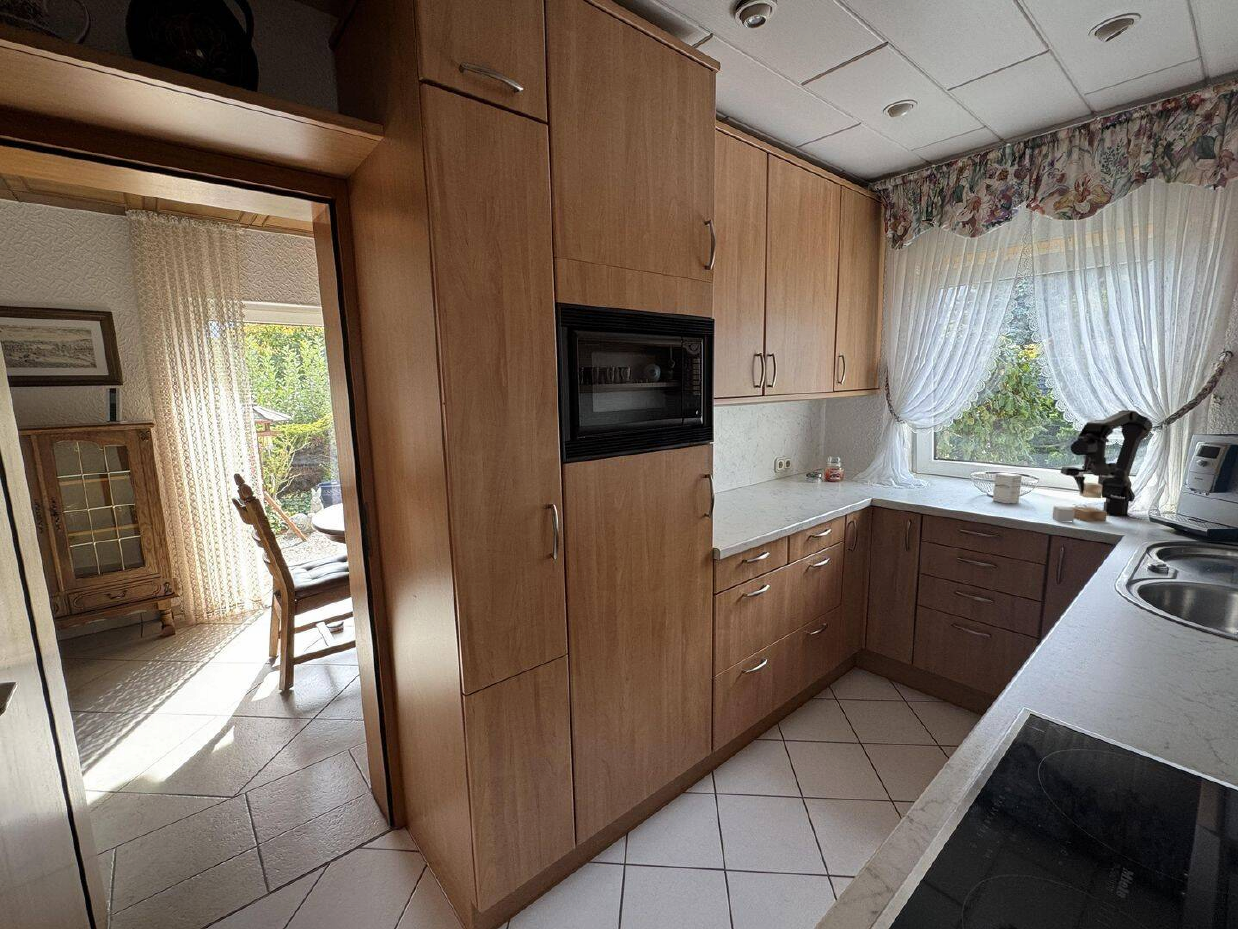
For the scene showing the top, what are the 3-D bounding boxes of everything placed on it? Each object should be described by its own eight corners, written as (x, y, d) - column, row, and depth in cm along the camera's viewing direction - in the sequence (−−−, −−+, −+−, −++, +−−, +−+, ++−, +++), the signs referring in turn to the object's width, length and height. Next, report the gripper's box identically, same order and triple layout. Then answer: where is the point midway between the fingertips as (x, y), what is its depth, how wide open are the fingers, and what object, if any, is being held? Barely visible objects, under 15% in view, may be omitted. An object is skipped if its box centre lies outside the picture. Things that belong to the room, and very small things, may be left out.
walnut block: (1089, 517, 222) (1091, 507, 221) (1105, 522, 214) (1107, 511, 213) (1068, 516, 222) (1069, 507, 222) (1083, 522, 215) (1084, 511, 214)
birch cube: (1094, 495, 218) (1096, 483, 218) (1100, 498, 214) (1102, 485, 213) (1079, 494, 220) (1080, 482, 219) (1085, 497, 215) (1086, 484, 215)
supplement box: (992, 501, 251) (994, 473, 249) (1002, 499, 254) (1004, 472, 252) (1009, 504, 244) (1012, 475, 242) (1019, 502, 247) (1022, 474, 245)
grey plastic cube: (1067, 519, 217) (1069, 507, 217) (1073, 522, 213) (1074, 509, 212) (1052, 518, 219) (1053, 506, 218) (1057, 521, 214) (1058, 509, 214)
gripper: (1074, 455, 210) (1070, 496, 212) (1136, 457, 204) (1130, 499, 206) (1062, 452, 220) (1058, 491, 223) (1120, 453, 214) (1115, 493, 217)
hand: (1090, 493), depth 217 cm, fingers closed on birch cube, 5 cm apart
